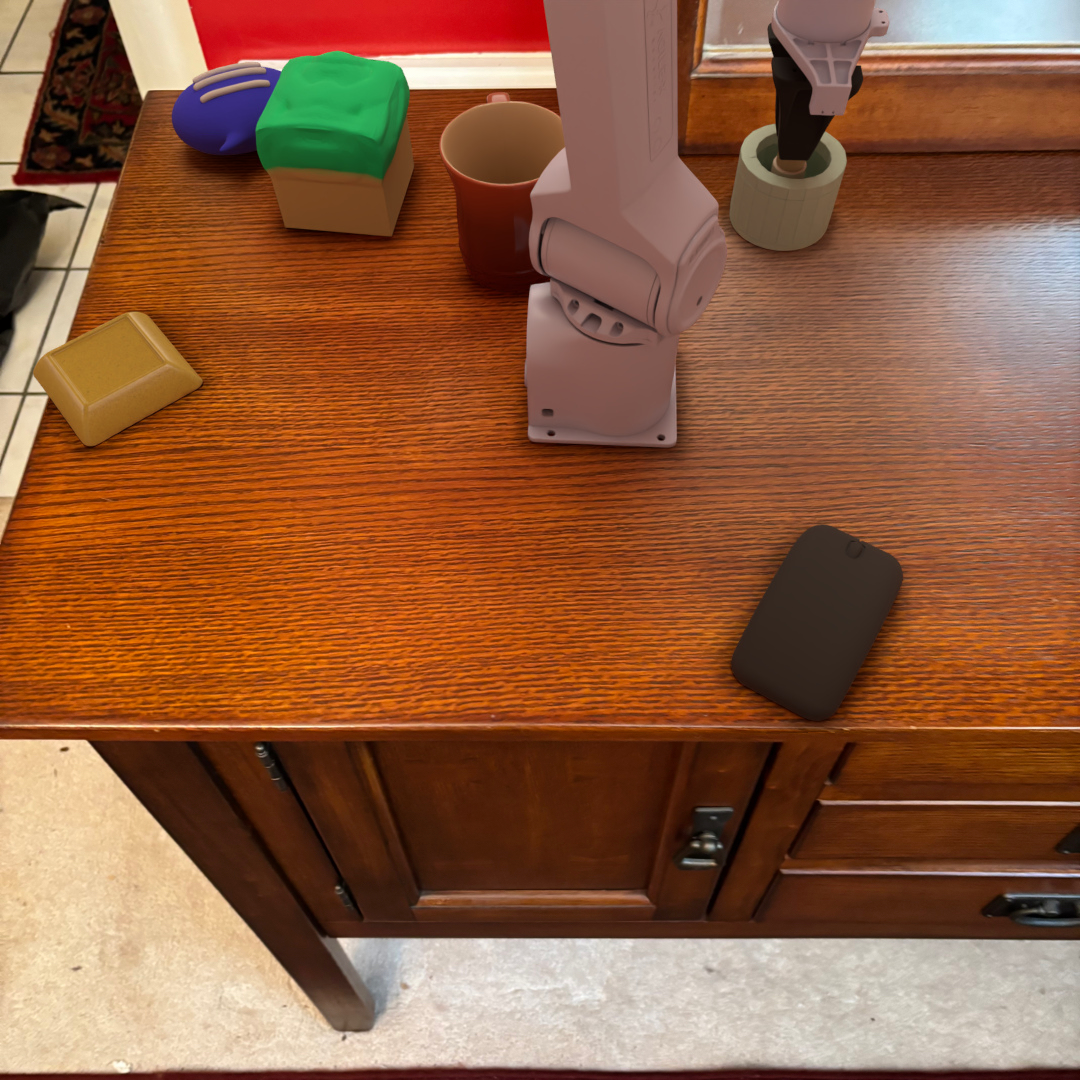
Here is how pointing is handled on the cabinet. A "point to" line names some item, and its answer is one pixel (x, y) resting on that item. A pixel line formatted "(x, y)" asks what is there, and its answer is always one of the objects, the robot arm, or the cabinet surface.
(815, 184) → the jar
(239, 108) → the decorative object
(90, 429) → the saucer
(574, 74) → the robot arm
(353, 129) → the cake
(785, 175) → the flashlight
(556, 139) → the mug
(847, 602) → the computer mouse
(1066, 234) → the cabinet surface
